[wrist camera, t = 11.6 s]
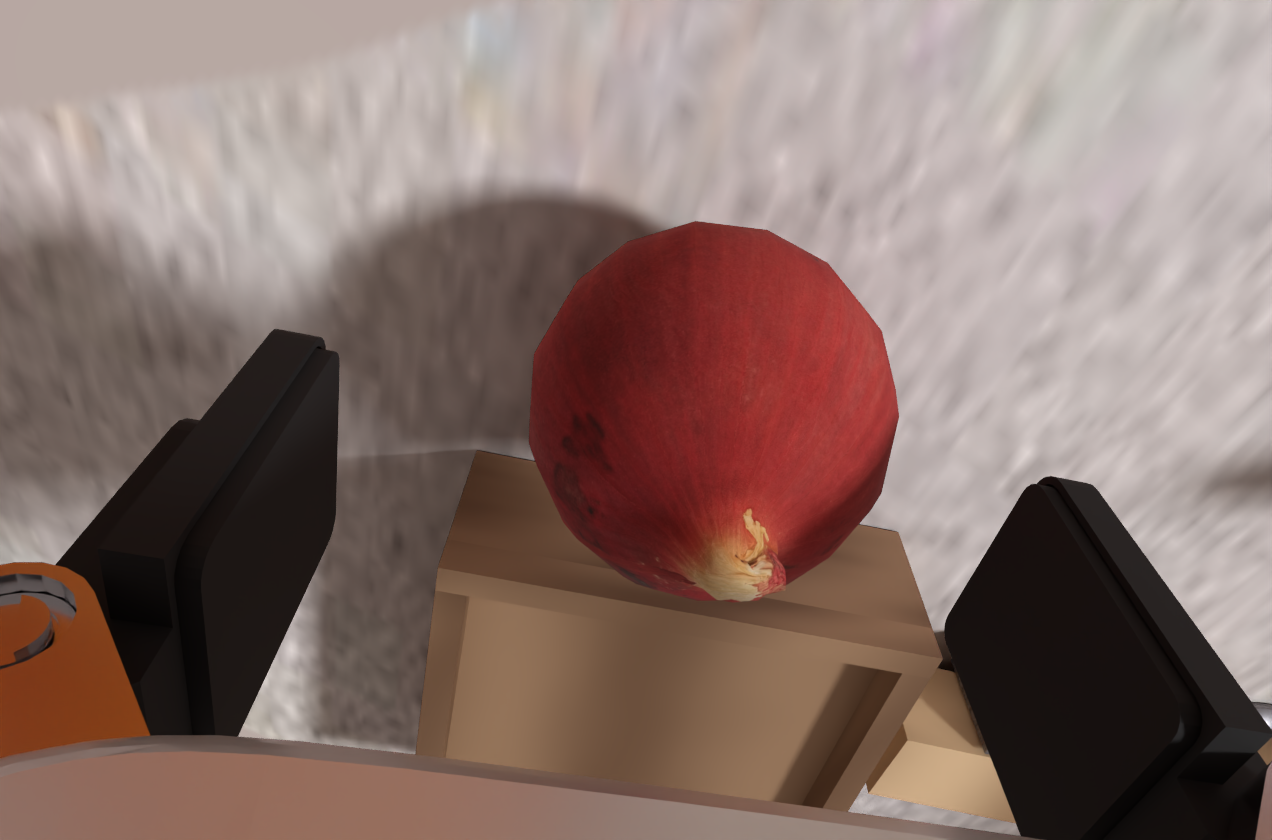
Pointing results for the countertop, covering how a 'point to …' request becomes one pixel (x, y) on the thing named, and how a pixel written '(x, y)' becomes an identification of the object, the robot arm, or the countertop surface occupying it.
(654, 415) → the onion
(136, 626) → the robot arm
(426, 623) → the countertop surface
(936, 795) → the leg
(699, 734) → the wooden tray
